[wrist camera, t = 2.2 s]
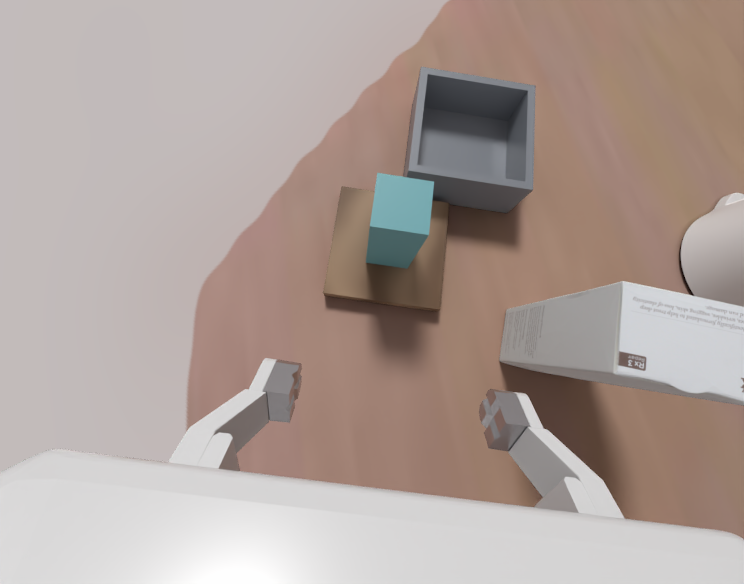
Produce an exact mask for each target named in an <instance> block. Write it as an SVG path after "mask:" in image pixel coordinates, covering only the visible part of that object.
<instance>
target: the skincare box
mask: <svg viewBox="0 0 744 584" xmlns="http://www.w3.org/2000/svg"><path fill="white" fill-rule="evenodd" d="M499 360H500V362H503V363H506V364H509V365H513V366H517V367H520V368H524V369H528V370H533V371H538V372H543V373H548V374H554V375H561V376H566V377H570V378H575V379H581V380H587V381H594V382H599V383H606V384H611V385H617V386H623V387H630V388H636V389H642V390H649V391H655V392H661V393H667V394H674V395H680V396H686V397H692V398H698V399H705V400H711V401H717V402H723V403H730V404H736V405H742V406H744V307H742V306H737V305H732V304H728V303H724V302H719V301H715V300H710V299H705V298H701V297H697V296H692V295H687V294H683V293H678V292H673V291H668V290H664V289H659V288H654V287H650V286H645V285H640V284H635V283H630V282H625V281H621V282H618V283H614V284H610V285H606V286H602V287H598V288H594V289H590V290H586V291H583V292H578V293H574V294H569V295H564V296H560V297H556V298H552V299H548V300H544V301H539V302H535V303H531V304H527V305H523V306H519V307H514V308H511V309H507V310H506V316H505V323H504V330H503V337H502V344H501V351H500V358H499Z"/></svg>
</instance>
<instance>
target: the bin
mask: <svg viewBox="0 0 744 584" xmlns="http://www.w3.org/2000/svg"><path fill="white" fill-rule="evenodd" d="M534 123H535V86H534V85H528V84H522V83H516V82H510V81H504V80H498V79H492V78H486V77H480V76H474V75H468V74H462V73H456V72H450V71H444V70H438V69H432V68H426V67H421V69H420V74H419V78H418V82H417V87H416V91H415V95H414V100H413V104H412V111H411V119H410V127H409V135H408V143H407V151H406V158H405V166H404V174H403V177H407V178H414V179H420V180H427V181H433V182H434V189H433V199H432V200H434V201H441V202H447V203H449V204H450V205H457V206H463V207H470V208H476V209H483V210H489V211H496V212H502V213H508V212H509V211H510V210H511V209H512V208H514V207H515V206H516V205H517V204H518V203H519V202H520V201H521V200H522V199H523V198H525V197H526V196H527V195H528V194H529V193H530V192H531V191H532V190H533V167H534Z"/></svg>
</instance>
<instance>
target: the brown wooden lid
mask: <svg viewBox="0 0 744 584" xmlns="http://www.w3.org/2000/svg"><path fill="white" fill-rule="evenodd" d="M374 194H375V191H369V190H362V189H356V188H349V187H343V186H342V187H341V193H340V198H339V204H338V210H337V216H336V221H335V227H334V233H333V239H332V245H331V250H330V256H329V262H328V268H327V273H326V279H325V285H324V291H323V294H324V295H325V296H331V297H338V298H345V299H352V300H359V301H366V302H373V303H380V304H387V305H394V306H401V307H408V308H415V309H422V310H429V311H438V310H440V304H441V293H442V282H443V270H444V259H445V247H446V236H447V224H448V213H449V203H447V202H441V201H434V200H432V209H431V219H430V229H429V236H428V237H427V239H426V240H425V242H424V243H423V245H422V247H421V248H420V250H419V251H418V253H417V254H416V256H415V258H414V259H413V261H412V262H411V264H410V265H409V267H408V268H407V269H406V268H399V267H393V266H386V265H379V264H372V263H366V255H367V246H368V237H369V229H370V221H371V214H372V208H373V201H374Z"/></svg>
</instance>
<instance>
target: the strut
mask: <svg viewBox="0 0 744 584" xmlns="http://www.w3.org/2000/svg"><path fill="white" fill-rule="evenodd" d="M433 189H434V182H433V181H427V180H420V179H414V178H407V177H401V176H394V175H388V174H381V173H377V180H376V187H375V194H374V201H373V208H372V214H371V221H370V229H369V237H368V246H367V255H366V263H372V264H379V265H386V266H393V267H399V268H406V269H407V268H408V267H409V265H410V264H411V262H412V261H413V259H414V258H415V256H416V254H417V253H418V251H419V250H420V248H421V247H422V245H423V243H424V242H425V240H426V239H427V237H428V236H429V229H430V219H431V209H432V199H433Z"/></svg>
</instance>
